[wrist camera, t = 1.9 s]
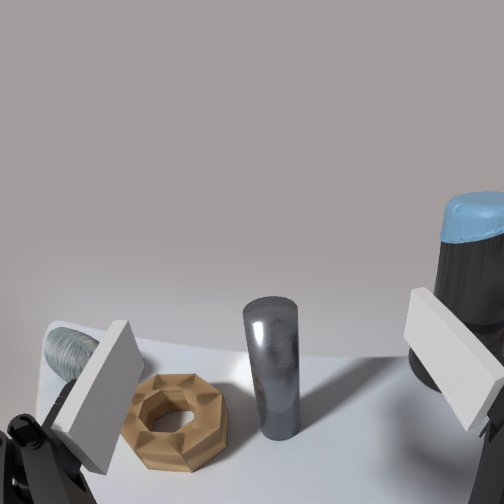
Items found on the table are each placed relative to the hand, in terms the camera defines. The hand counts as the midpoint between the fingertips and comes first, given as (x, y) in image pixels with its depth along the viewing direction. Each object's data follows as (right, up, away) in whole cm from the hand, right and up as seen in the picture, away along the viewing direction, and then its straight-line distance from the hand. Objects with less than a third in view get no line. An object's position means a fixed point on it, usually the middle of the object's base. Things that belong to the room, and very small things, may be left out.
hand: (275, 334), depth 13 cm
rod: (+2, -16, +17) cm, 23 cm away
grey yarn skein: (-27, -16, +25) cm, 40 cm away
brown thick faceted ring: (-10, -17, +17) cm, 26 cm away
